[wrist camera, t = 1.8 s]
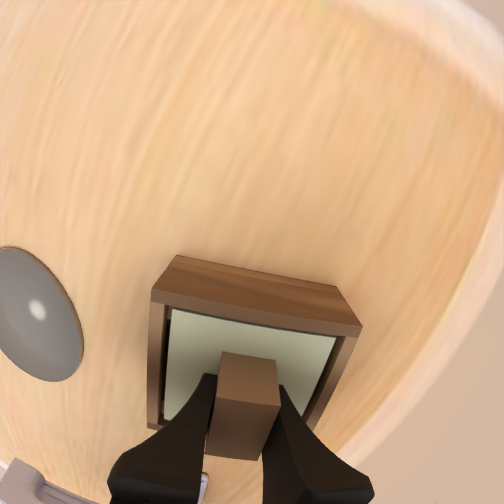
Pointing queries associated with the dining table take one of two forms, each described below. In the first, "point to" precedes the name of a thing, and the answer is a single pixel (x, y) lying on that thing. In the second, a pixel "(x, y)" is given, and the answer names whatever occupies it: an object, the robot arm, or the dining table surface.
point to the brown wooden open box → (247, 319)
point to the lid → (241, 375)
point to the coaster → (37, 318)
